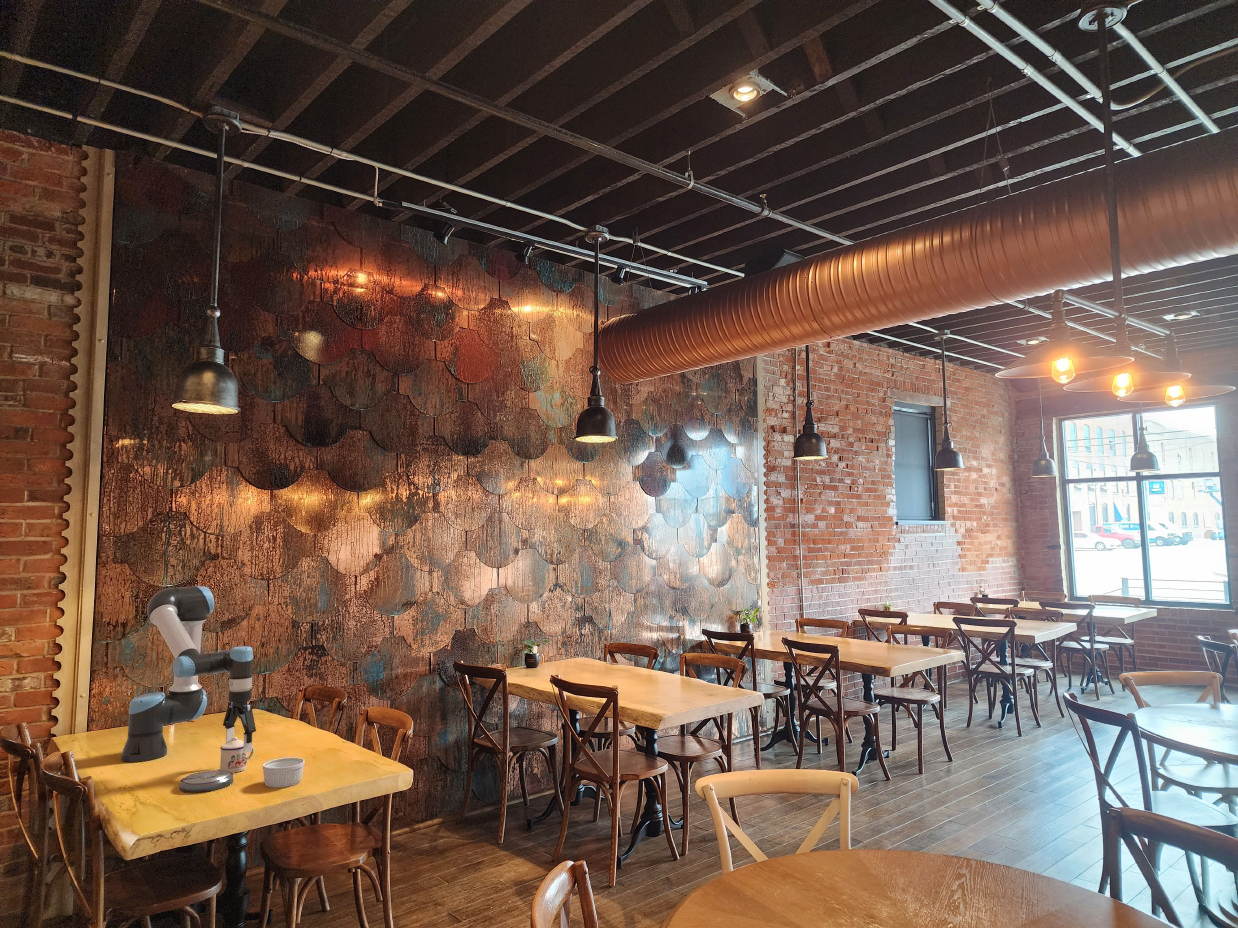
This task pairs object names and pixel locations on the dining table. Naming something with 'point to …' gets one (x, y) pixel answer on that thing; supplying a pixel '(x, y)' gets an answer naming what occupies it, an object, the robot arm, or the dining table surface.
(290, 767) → the ramekin
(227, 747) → the teacup with lid
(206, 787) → the dark gray round plate
